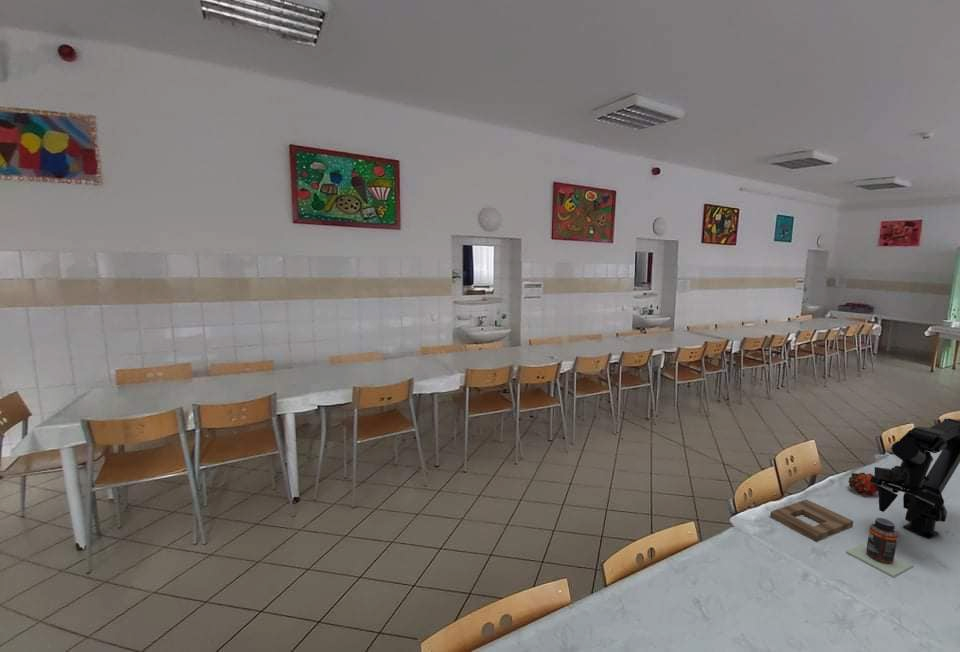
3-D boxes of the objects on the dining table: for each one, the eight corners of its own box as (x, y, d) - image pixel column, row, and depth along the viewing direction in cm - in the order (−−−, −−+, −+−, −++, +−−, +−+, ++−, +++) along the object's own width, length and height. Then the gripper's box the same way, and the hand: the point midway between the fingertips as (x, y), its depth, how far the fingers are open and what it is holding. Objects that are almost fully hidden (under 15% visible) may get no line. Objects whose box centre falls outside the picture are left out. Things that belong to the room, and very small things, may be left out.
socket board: (805, 504, 152) (806, 499, 152) (852, 526, 140) (853, 521, 139) (770, 517, 144) (770, 511, 144) (816, 541, 131) (817, 535, 131)
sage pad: (866, 543, 131) (866, 541, 131) (913, 566, 121) (913, 564, 121) (845, 552, 127) (846, 550, 126) (893, 577, 117) (893, 575, 117)
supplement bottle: (898, 561, 122) (904, 525, 121) (886, 566, 120) (892, 529, 118) (872, 548, 128) (878, 513, 126) (861, 553, 125) (866, 517, 124)
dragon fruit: (847, 497, 160) (869, 498, 164) (872, 494, 153) (894, 495, 157) (838, 474, 164) (859, 474, 168) (861, 470, 157) (883, 470, 161)
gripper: (862, 450, 140) (843, 494, 139) (913, 461, 121) (892, 511, 120) (897, 467, 138) (879, 511, 137) (954, 480, 120) (933, 531, 119)
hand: (893, 515), depth 128 cm, fingers open, 9 cm apart
